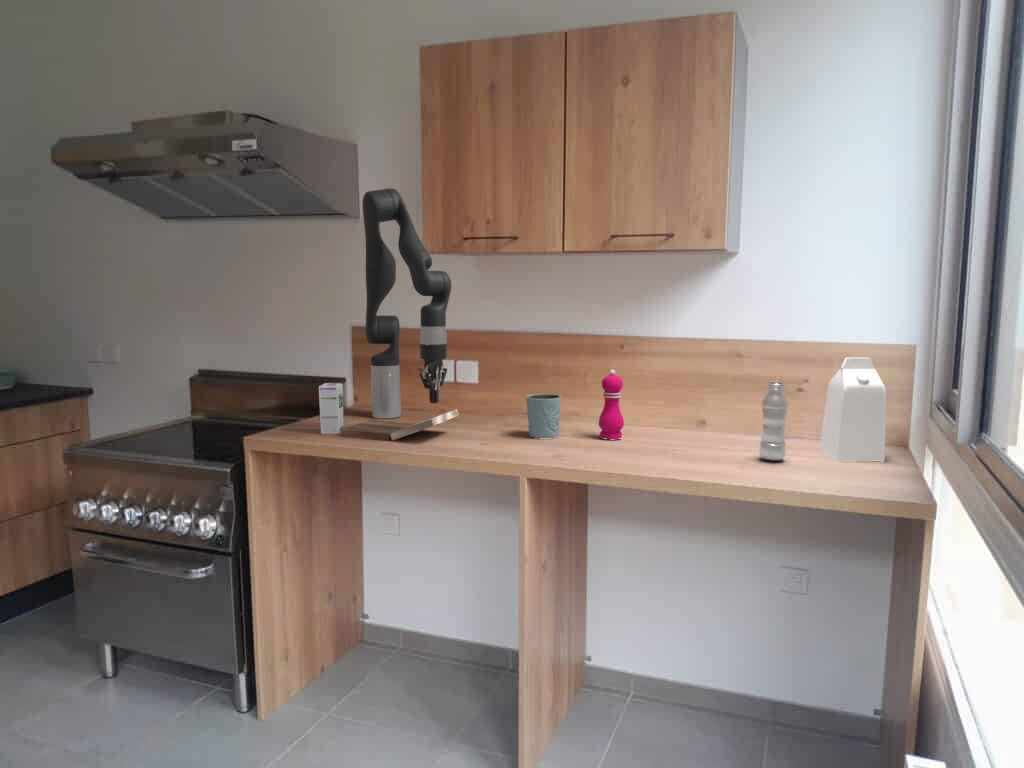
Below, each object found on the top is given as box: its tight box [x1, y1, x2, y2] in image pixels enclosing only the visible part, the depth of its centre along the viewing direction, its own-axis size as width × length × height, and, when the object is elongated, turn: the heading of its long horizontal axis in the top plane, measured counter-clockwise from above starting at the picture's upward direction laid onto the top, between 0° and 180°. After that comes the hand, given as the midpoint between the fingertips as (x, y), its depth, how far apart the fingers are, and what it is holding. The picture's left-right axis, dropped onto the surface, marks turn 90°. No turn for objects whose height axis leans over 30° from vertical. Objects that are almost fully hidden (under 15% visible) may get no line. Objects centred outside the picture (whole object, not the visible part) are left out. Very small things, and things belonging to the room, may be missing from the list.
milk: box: [819, 357, 887, 461], centre depth 195 cm, size 12×12×26 cm
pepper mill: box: [598, 369, 625, 439], centre depth 216 cm, size 7×7×20 cm
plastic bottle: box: [758, 381, 790, 462], centre depth 191 cm, size 6×7×20 cm
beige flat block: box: [390, 408, 460, 441], centre depth 218 cm, size 17×14×2 cm
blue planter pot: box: [525, 392, 562, 439], centre depth 219 cm, size 10×10×12 cm
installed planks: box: [340, 418, 417, 442], centre depth 223 cm, size 17×16×2 cm
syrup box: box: [318, 382, 345, 435], centre depth 223 cm, size 6×6×14 cm
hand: (434, 402), depth 215 cm, fingers closed
